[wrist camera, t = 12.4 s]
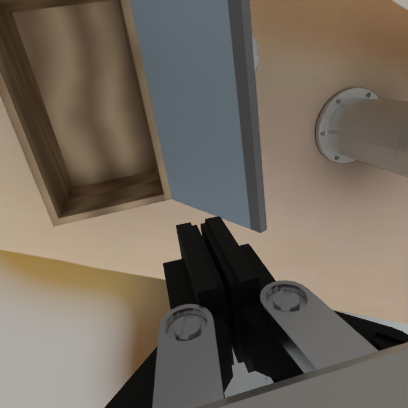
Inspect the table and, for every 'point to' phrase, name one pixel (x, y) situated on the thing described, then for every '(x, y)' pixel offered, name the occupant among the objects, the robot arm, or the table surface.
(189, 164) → the lid flap
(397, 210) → the table surface
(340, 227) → the table surface
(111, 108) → the wooden box
